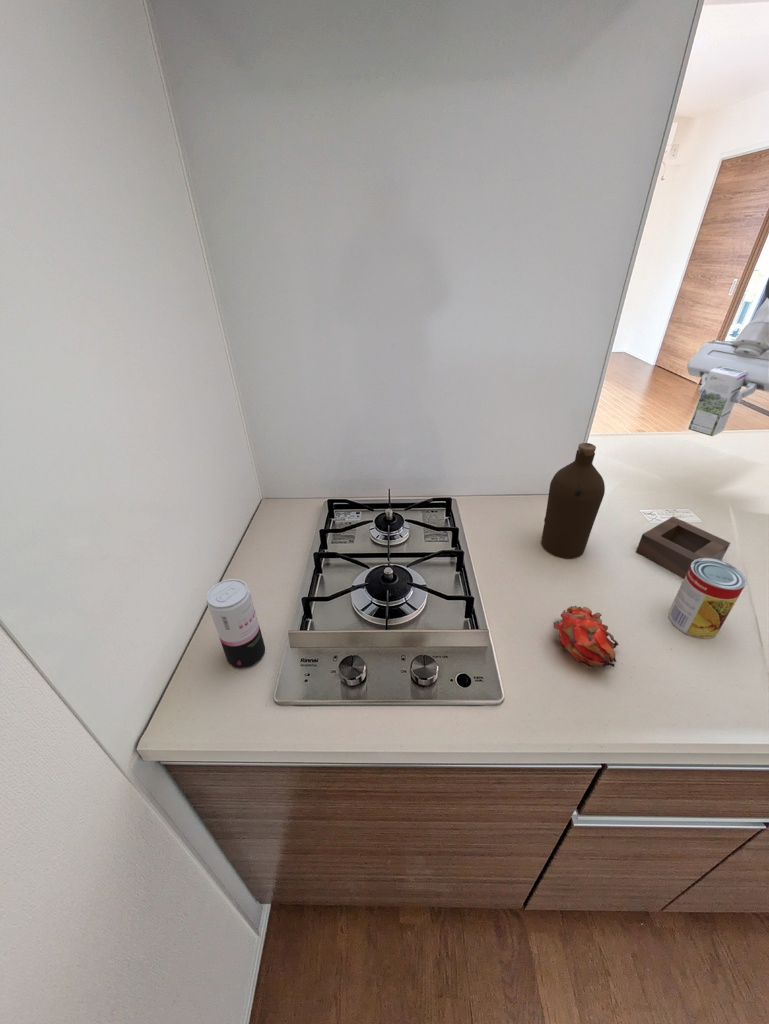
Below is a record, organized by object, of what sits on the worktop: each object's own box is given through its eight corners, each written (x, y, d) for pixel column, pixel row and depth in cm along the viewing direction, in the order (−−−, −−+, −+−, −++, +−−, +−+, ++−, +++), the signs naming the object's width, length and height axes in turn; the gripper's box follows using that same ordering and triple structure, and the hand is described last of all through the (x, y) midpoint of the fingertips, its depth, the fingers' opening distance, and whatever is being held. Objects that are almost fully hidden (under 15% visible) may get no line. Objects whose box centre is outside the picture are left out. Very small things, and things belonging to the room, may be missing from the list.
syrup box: (724, 431, 105) (749, 370, 97) (712, 437, 102) (737, 375, 94) (698, 424, 109) (721, 365, 101) (686, 429, 106) (709, 369, 98)
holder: (665, 533, 102) (673, 516, 100) (721, 561, 94) (730, 542, 91) (635, 552, 97) (642, 534, 94) (691, 582, 89) (700, 563, 86)
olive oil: (597, 557, 96) (629, 454, 82) (551, 563, 95) (576, 460, 81) (571, 529, 105) (596, 432, 91) (530, 535, 103) (549, 437, 89)
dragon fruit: (558, 627, 82) (600, 685, 73) (533, 621, 77) (576, 683, 68) (593, 598, 78) (641, 656, 70) (569, 590, 73) (618, 651, 65)
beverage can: (219, 659, 76) (196, 597, 68) (247, 634, 80) (229, 573, 72) (246, 676, 73) (225, 613, 65) (273, 648, 78) (257, 586, 69)
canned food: (728, 632, 78) (758, 582, 71) (693, 643, 76) (721, 593, 69) (691, 602, 84) (715, 553, 77) (658, 611, 82) (680, 563, 76)
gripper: (706, 330, 105) (670, 379, 106) (811, 345, 90) (768, 401, 91) (708, 347, 109) (674, 393, 110) (809, 364, 94) (768, 417, 95)
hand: (717, 397), depth 100 cm, fingers closed on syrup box, 6 cm apart
